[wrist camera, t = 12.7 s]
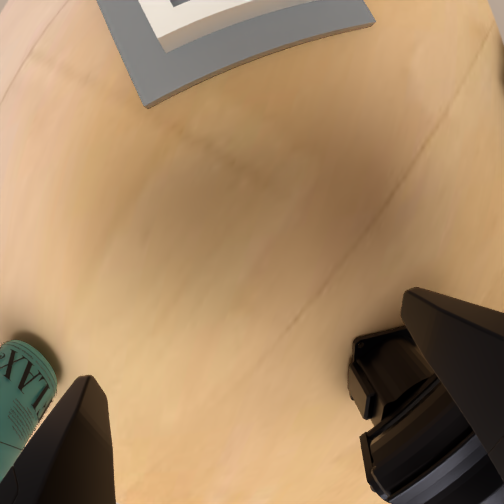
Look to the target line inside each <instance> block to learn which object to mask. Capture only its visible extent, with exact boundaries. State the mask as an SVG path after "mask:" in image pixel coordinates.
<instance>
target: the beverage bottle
mask: <svg viewBox="0 0 504 504" xmlns="http://www.w3.org/2000/svg"><path fill="white" fill-rule="evenodd" d="M3 343H4V342H3ZM1 344H2V343H1ZM56 388H57V379H56V375H55V373H54V371H53V369H52V367H51V365H50V364H49V362H48V361H47V360H46V359H45V357H44V356H43V355H42V354H41V353H40V352H39V351H38V350H36V349H35V348H34V347H32V346H31V345H29V344H27V343H25V342H23V341H20V340H11V341H7V342H6V343H4V344H3V345H2V346H1V347H0V482H1V481H2V479H3V478H4V477H5V475H6V474H7V472H8V471H9V469H10V468H11V466H13V464H14V462H15V461H16V459H17V458H18V456H19V455H20V453H21V452H22V450H23V448H25V447H24V446H25V444H26V443H27V442H28V439H29V437H32V436H31V435H32V434H33V433H32V432H33V431H35V430H34V429H36V428H35V427H37V426H36V425H38V424H37V423H39V421H40V420H41V418H42V417H43V415H44V413H46V412H45V411H48V410H47V409H48V406H49V405H50V403H51V402H52V399H53V397H54V396H55V393H56V394H57V389H56ZM54 398H55V397H54ZM50 406H51V405H50ZM42 419H43V418H42ZM40 422H41V421H40ZM29 441H30V440H29Z"/></svg>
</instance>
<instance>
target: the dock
mask: <svg viewBox="0 0 504 504" xmlns="http://www.w3.org/2000/svg"><path fill="white" fill-rule="evenodd" d="M97 3H98V5H99V7H100V10H101V12H102V14H103V17H104V19H105V21H106V24H107V26H108V28H109V30H110V33H111V35H112V37H113V40H114V42H115V44H116V46H117V49H118V51H119V53H120V55H121V58H122V60H123V62H124V64H125V66H126V69H127V71H128V73H129V75H130V77H131V80H132V82H133V84H134V86H135V88H136V90H137V93H138V95H139V97H140V99H141V101H142V103H143V105H144V107H146V108H147V109H149V108H151V107H153V106H154V105H156V104H158V103H160V102H162V101H164V100H166V99H168V98H170V97H171V96H173V95H175V94H177V93H179V92H181V91H183V90H185V89H188V88H190V87H192V86H194V85H196V84H198V83H200V82H202V81H205V80H207V79H209V78H211V77H213V76H216V75H218V74H220V73H223V72H225V71H227V70H230V69H232V68H235V67H237V66H240V65H242V64H245V63H247V62H250V61H252V60H255V59H258V58H261V57H263V56H266V55H269V54H272V53H275V52H278V51H280V50H283V49H287V48H290V47H293V46H296V45H299V44H303V43H306V42H309V41H313V40H316V39H320V38H324V37H327V36H331V35H335V34H339V33H343V32H348V31H352V30H357V29H361V28H366V27H371V26H372V25H373V24H374V23H375V22H376V20H375V19H374V17H373V15H372V14H371V12H370V10H369V9H368V7H367V5H366V4H365V2H364V1H363V0H97Z"/></svg>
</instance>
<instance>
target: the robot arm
mask: <svg viewBox="0 0 504 504" xmlns="http://www.w3.org/2000/svg"><path fill="white" fill-rule="evenodd" d="M401 318H402V321H403V322H404V324H405V326H403V327H399V328H395V329H391V330H387V331H383V332H379V333H375V334H371V335H367V336H362V337H359V338H357V339H355V340H354V342H353V355H352V363H351V364H350V365H349V376H348V389H349V391H350V397H351V399H352V400H354V401H355V403H356V405H357V407H358V409H359V411H360V413H361V415H362V417H363V419H365V420H368V419H371V421H372V423H373V425H374V427H373V428H372V429H371V430H369V431H368V432H365V433H364V434H362V435H361V436H360V442H361V449H362V455H363V460H364V466H365V472H366V478H367V482H368V483H369V485H370V488H371V490H372V491H373V492H376V493H377V494H378V495H379V496H380V497H381V498H382V499H383V500H385V501H386V502H388V503H391V504H504V313H502V312H499V311H495V310H492V309H489V308H486V307H482V306H479V305H476V304H472V303H469V302H466V301H462V300H459V299H456V298H453V297H449V296H446V295H443V294H439V293H436V292H432V291H429V290H426V289H422V288H419V287H414V288H411V289H409V290H406V291H405V292H404V295H403V301H402V307H401ZM359 343H361V344H360V345H358V344H359ZM0 504H116V499H115V485H114V467H113V447H112V438H111V430H110V421H109V412H108V401H107V397H106V395H105V393H104V391H103V390H102V389H101V387H100V386H99V384H98V383H97V381H96V380H95V378H94V377H93V376H92V375H85V376H79V377H78V378H77V379H76V380H75V381H74V382H73V384H72V385H71V386H70V387H69V389H68V390H67V391H66V393H65V394H64V395H63V396H62V398H61V399H60V400H59V402H58V403H57V404H56V406H55V407H54V408H53V410H52V411H51V412H50V414H49V415H48V416H47V418H46V419H45V420H44V422H43V423H42V424H41V426H40V427H39V428H38V430H37V431H36V433H35V434H34V435H33V437H32V438H31V439H30V441H29V442H28V444H27V445H26V446H25V448H24V449H23V451H22V452H21V454H20V455H19V456H18V458H17V459H16V461H15V462H14V464H13V466H11V468H10V469H9V471H8V472H7V474H6V475H5V477H4V478H3V479H2V481H1V482H0Z"/></svg>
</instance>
